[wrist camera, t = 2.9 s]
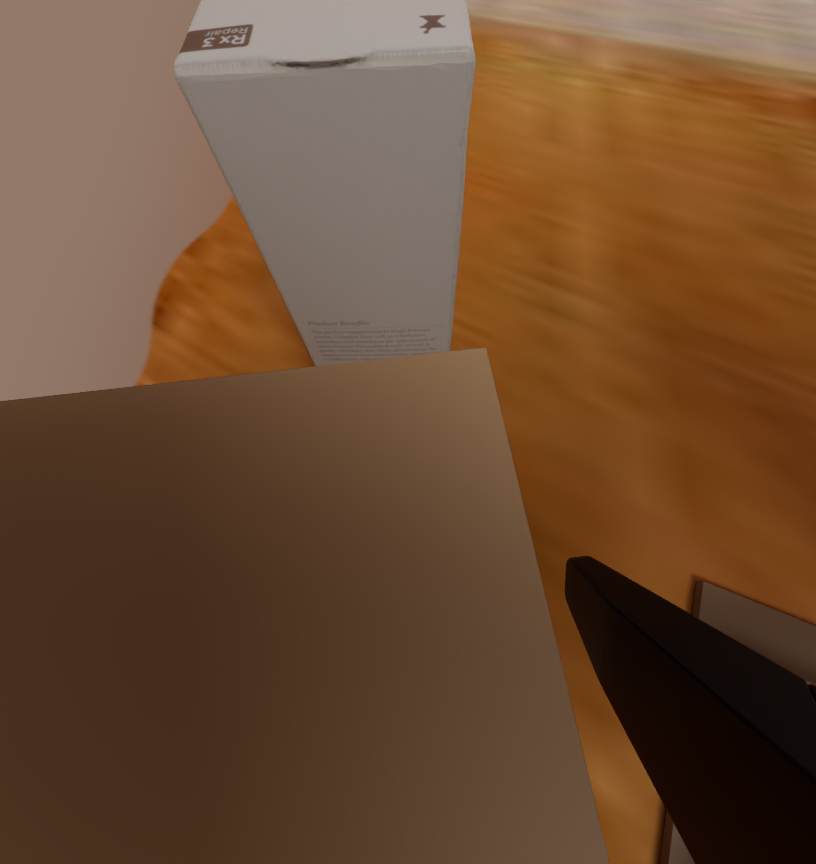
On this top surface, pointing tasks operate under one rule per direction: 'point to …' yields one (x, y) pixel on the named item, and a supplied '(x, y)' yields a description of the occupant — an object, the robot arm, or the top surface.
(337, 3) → the skincare box
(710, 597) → the tan flat wooden frame
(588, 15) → the top surface
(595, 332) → the top surface
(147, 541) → the peg
